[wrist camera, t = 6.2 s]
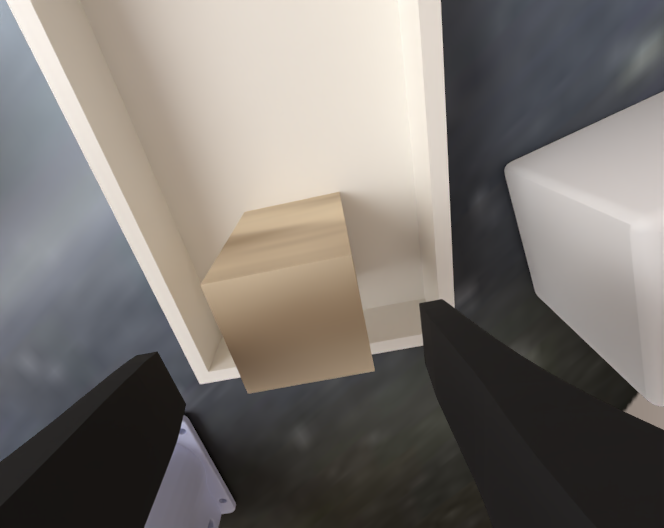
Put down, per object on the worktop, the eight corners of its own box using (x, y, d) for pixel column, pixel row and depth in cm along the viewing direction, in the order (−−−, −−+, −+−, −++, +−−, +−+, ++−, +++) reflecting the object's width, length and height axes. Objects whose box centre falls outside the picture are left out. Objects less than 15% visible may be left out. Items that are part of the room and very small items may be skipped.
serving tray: (434, 300, 17) (456, 339, 15) (217, 340, 18) (199, 384, 15) (395, -216, 10) (425, -333, 7) (18, -113, 10) (-87, -184, 8)
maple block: (356, 276, 16) (374, 370, 11) (271, 292, 16) (248, 393, 11) (339, 191, 14) (351, 254, 9) (244, 211, 14) (199, 285, 9)
